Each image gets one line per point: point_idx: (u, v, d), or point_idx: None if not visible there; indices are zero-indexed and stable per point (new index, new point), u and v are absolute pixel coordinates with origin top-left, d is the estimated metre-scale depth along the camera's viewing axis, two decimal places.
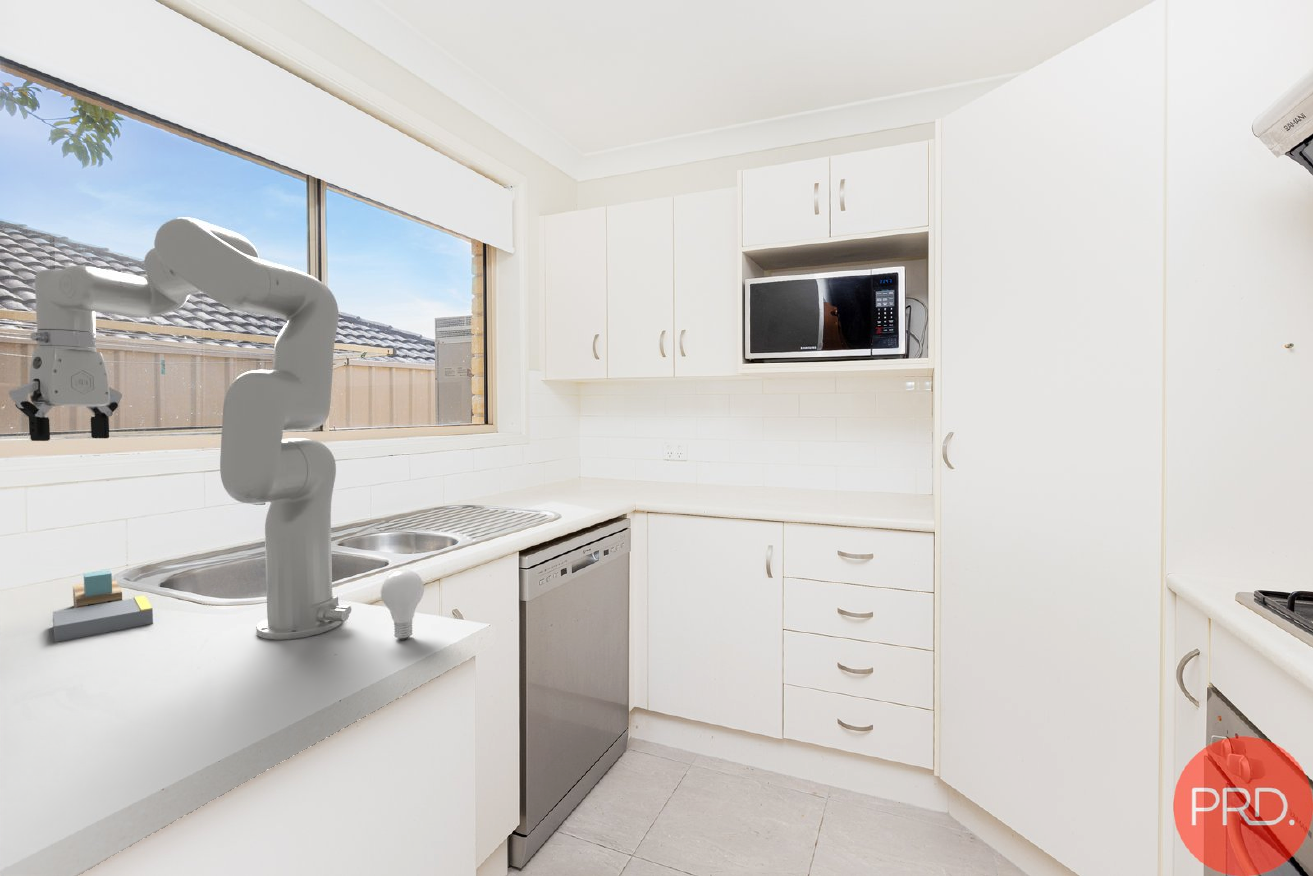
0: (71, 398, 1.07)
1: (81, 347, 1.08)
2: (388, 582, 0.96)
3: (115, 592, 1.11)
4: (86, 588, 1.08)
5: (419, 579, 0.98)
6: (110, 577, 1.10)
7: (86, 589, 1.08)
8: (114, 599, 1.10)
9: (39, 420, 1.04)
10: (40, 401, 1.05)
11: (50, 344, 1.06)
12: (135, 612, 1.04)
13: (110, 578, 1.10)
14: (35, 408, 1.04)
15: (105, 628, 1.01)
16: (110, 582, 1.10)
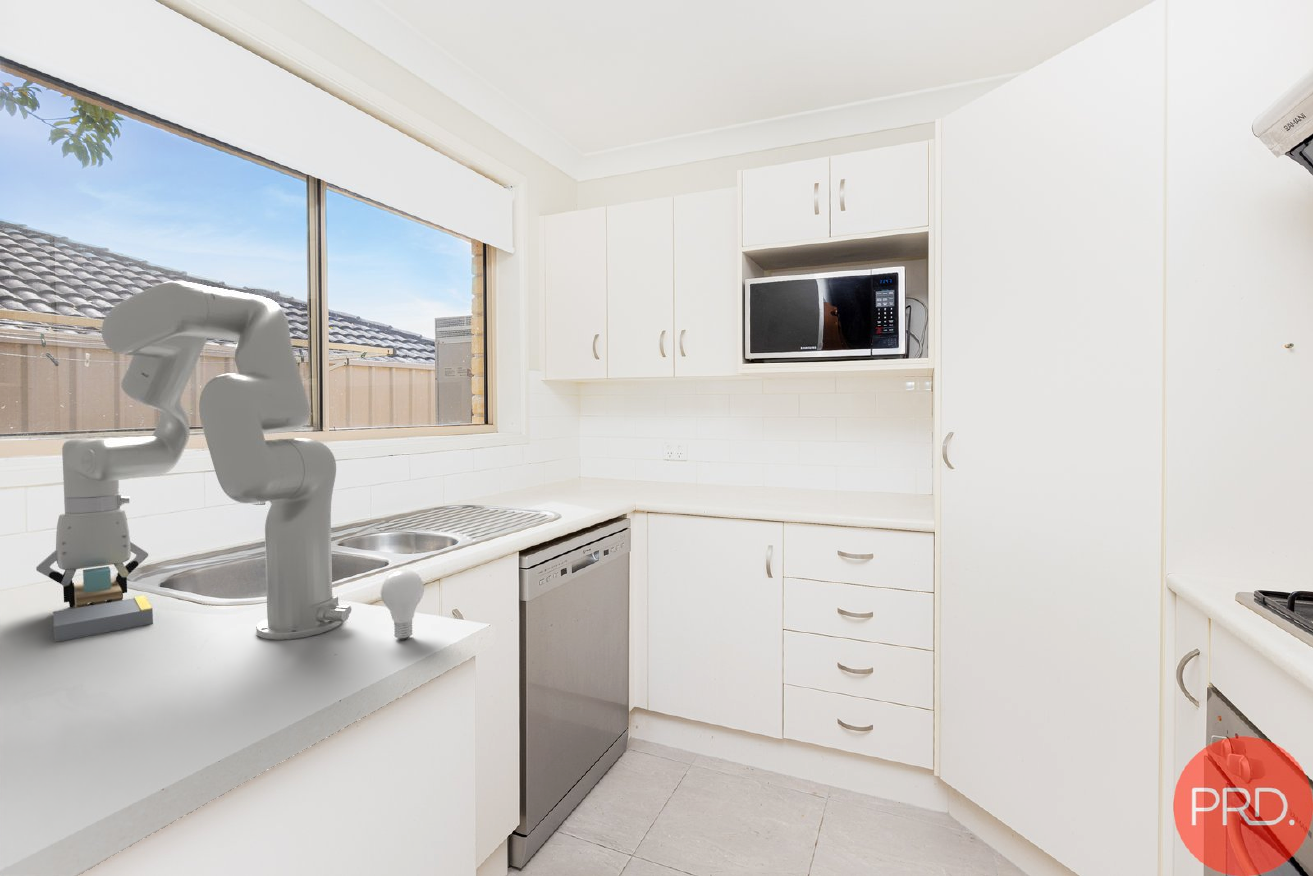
0: None
1: None
2: (388, 582, 0.96)
3: (115, 591, 1.11)
4: (85, 584, 1.10)
5: (419, 579, 0.98)
6: (109, 573, 1.12)
7: (85, 585, 1.10)
8: (114, 598, 1.10)
9: None
10: None
11: None
12: (135, 612, 1.04)
13: (109, 574, 1.12)
14: None
15: (105, 628, 1.01)
16: (109, 578, 1.12)
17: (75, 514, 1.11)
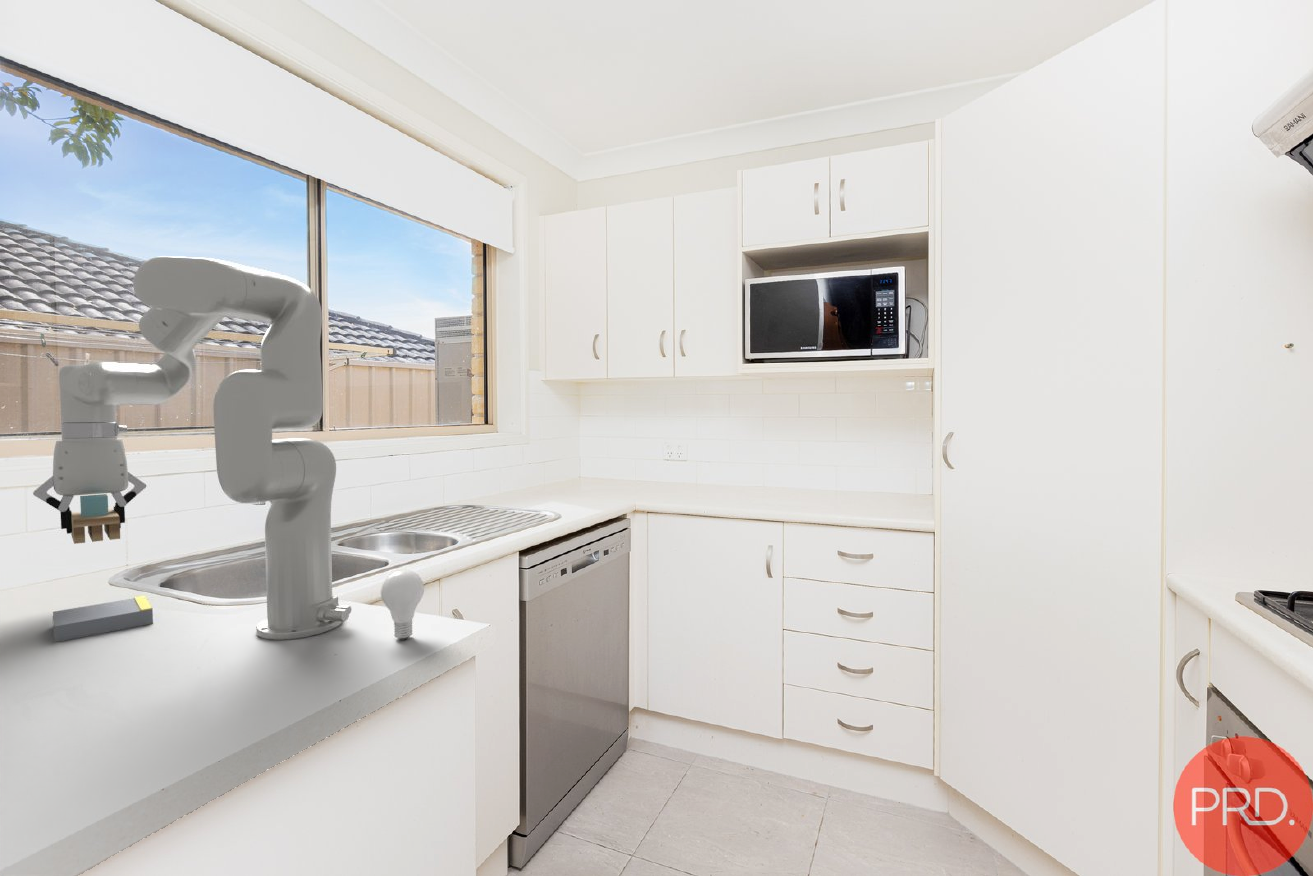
0: None
1: None
2: (388, 582, 0.96)
3: (112, 516, 1.10)
4: (82, 509, 1.09)
5: (419, 579, 0.98)
6: (106, 499, 1.11)
7: (82, 510, 1.09)
8: (111, 523, 1.09)
9: None
10: None
11: None
12: (135, 612, 1.04)
13: (106, 500, 1.11)
14: None
15: (105, 628, 1.01)
16: (106, 504, 1.11)
17: (72, 439, 1.10)
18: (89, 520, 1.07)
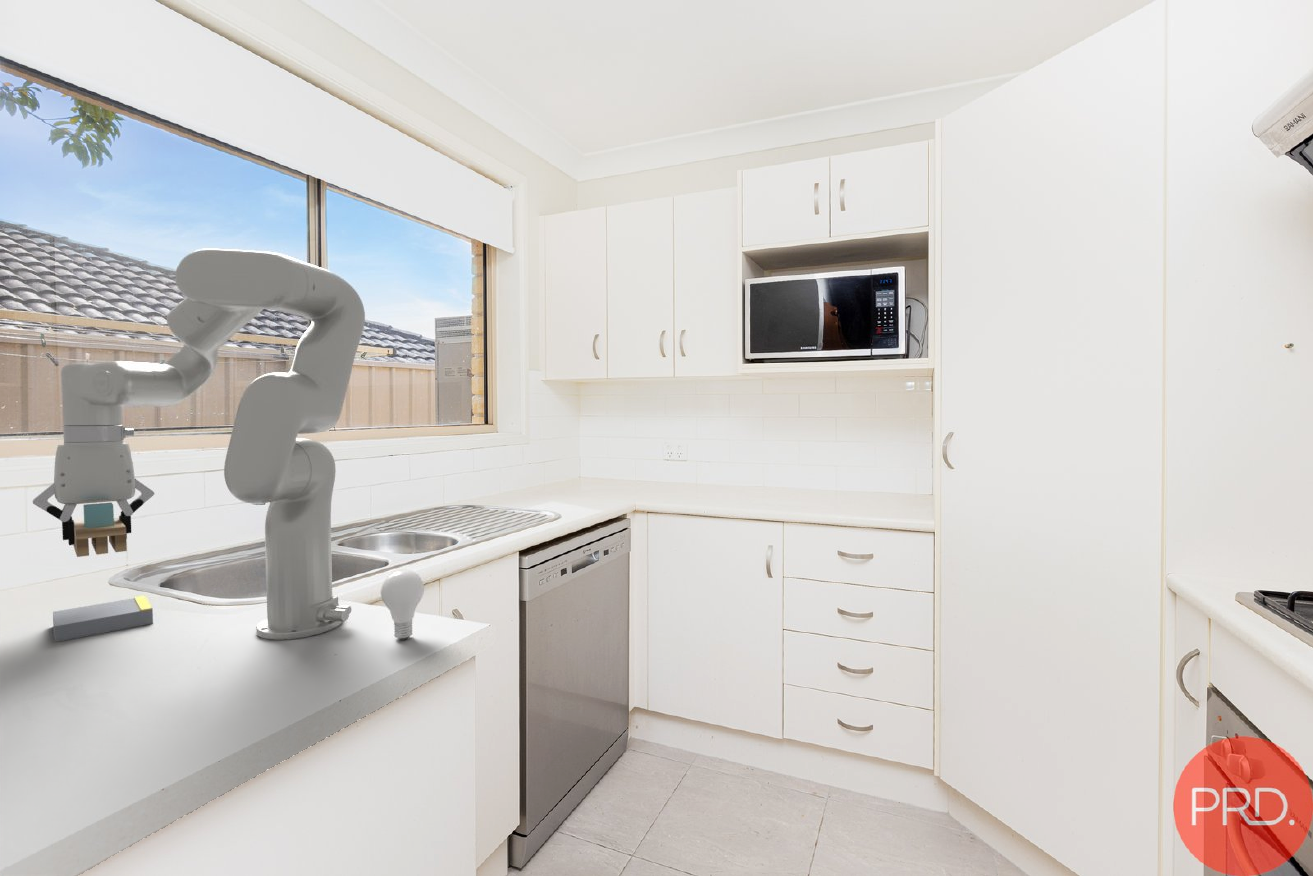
0: None
1: None
2: (388, 582, 0.96)
3: (118, 527, 1.02)
4: (86, 519, 1.01)
5: (419, 579, 0.98)
6: (112, 508, 1.03)
7: (86, 520, 1.01)
8: (117, 534, 1.01)
9: None
10: None
11: None
12: (135, 612, 1.04)
13: (112, 509, 1.03)
14: None
15: (105, 628, 1.01)
16: (112, 514, 1.03)
17: (75, 443, 1.02)
18: (93, 531, 0.99)
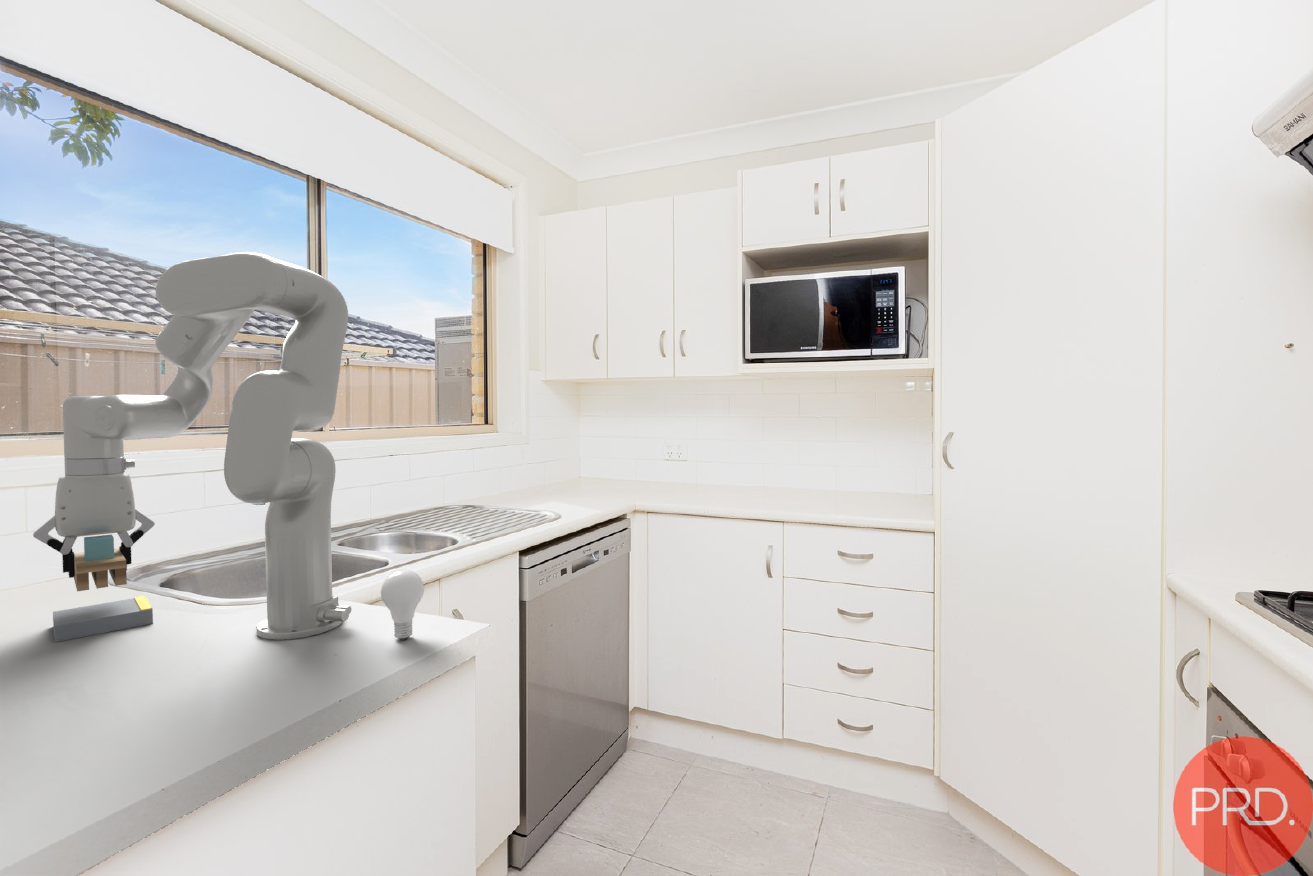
0: None
1: None
2: (388, 582, 0.96)
3: (119, 560, 1.02)
4: (86, 552, 1.01)
5: (419, 579, 0.98)
6: (112, 541, 1.03)
7: (86, 553, 1.01)
8: (117, 568, 1.02)
9: None
10: None
11: None
12: (135, 612, 1.04)
13: (112, 542, 1.03)
14: None
15: (105, 628, 1.01)
16: (112, 547, 1.03)
17: (76, 476, 1.02)
18: (93, 565, 0.99)
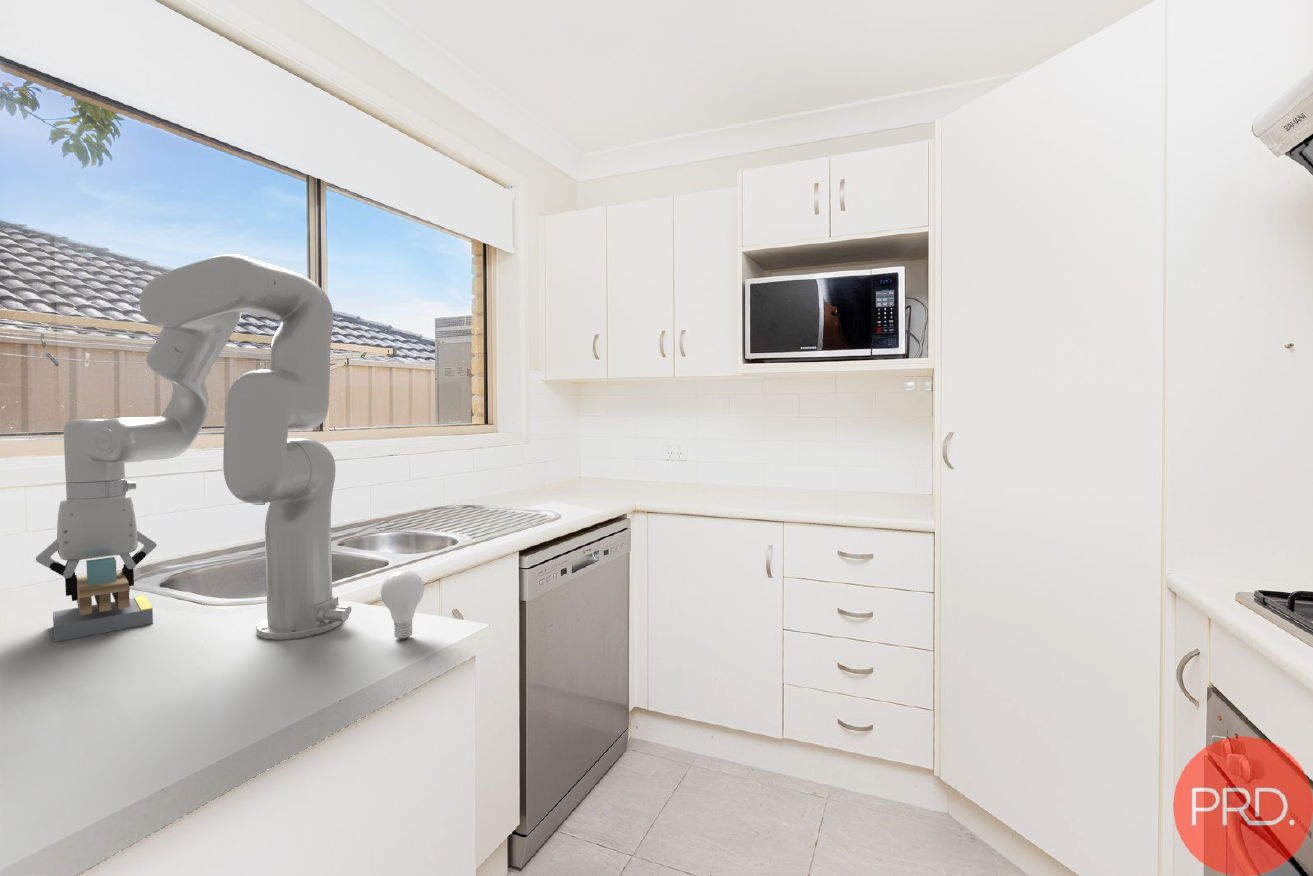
0: None
1: None
2: (388, 582, 0.96)
3: (121, 583, 1.02)
4: (89, 576, 1.01)
5: (419, 579, 0.98)
6: (114, 564, 1.03)
7: (89, 577, 1.01)
8: (120, 590, 1.02)
9: None
10: None
11: None
12: (135, 612, 1.04)
13: (114, 565, 1.03)
14: None
15: (105, 628, 1.01)
16: (114, 569, 1.03)
17: (78, 500, 1.02)
18: (96, 589, 1.00)
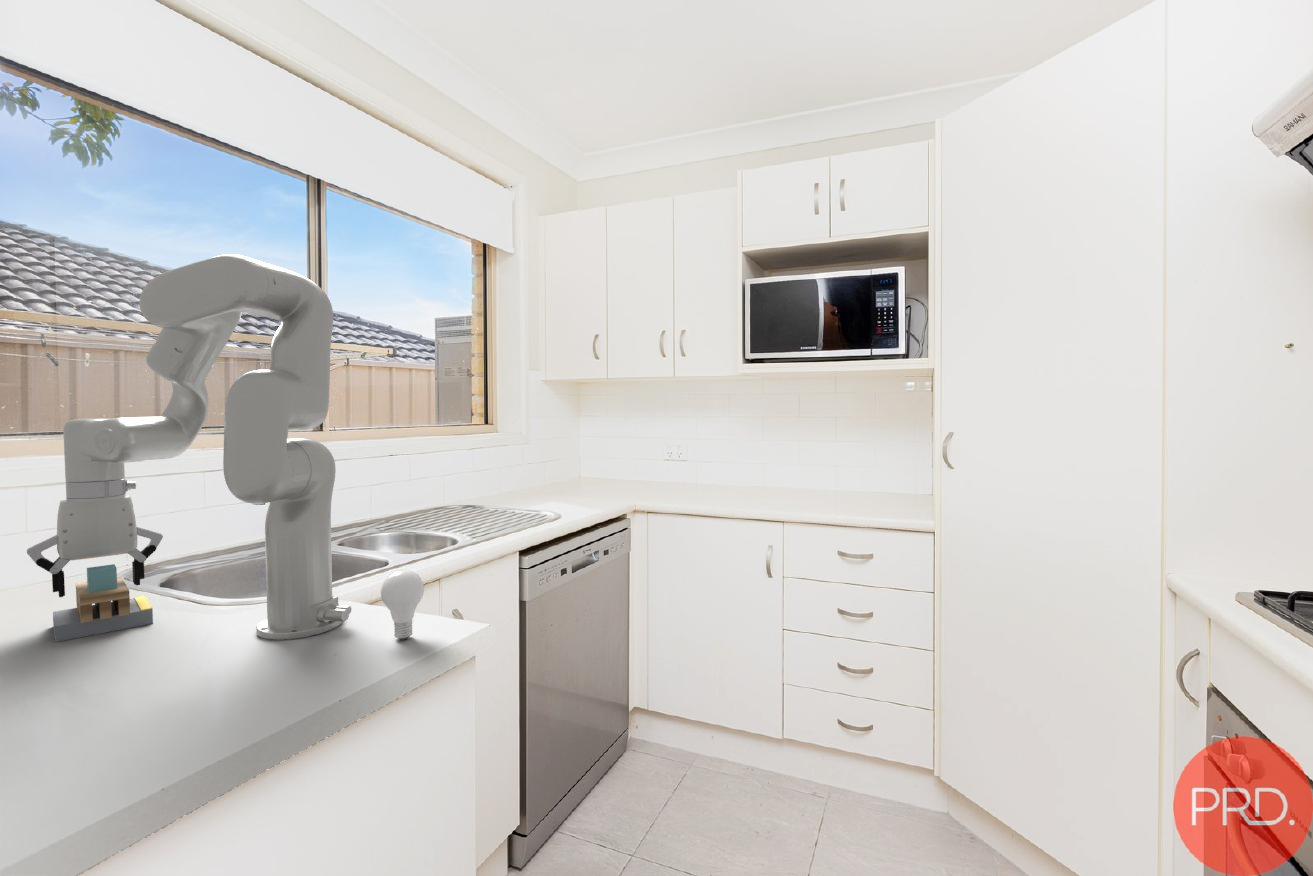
0: None
1: None
2: (388, 582, 0.96)
3: (122, 590, 1.02)
4: (89, 583, 1.01)
5: (419, 579, 0.98)
6: (115, 572, 1.03)
7: (89, 584, 1.01)
8: (121, 598, 1.02)
9: None
10: None
11: None
12: (135, 612, 1.04)
13: (115, 573, 1.03)
14: None
15: (105, 628, 1.01)
16: (115, 577, 1.04)
17: (77, 500, 1.02)
18: (97, 597, 1.00)
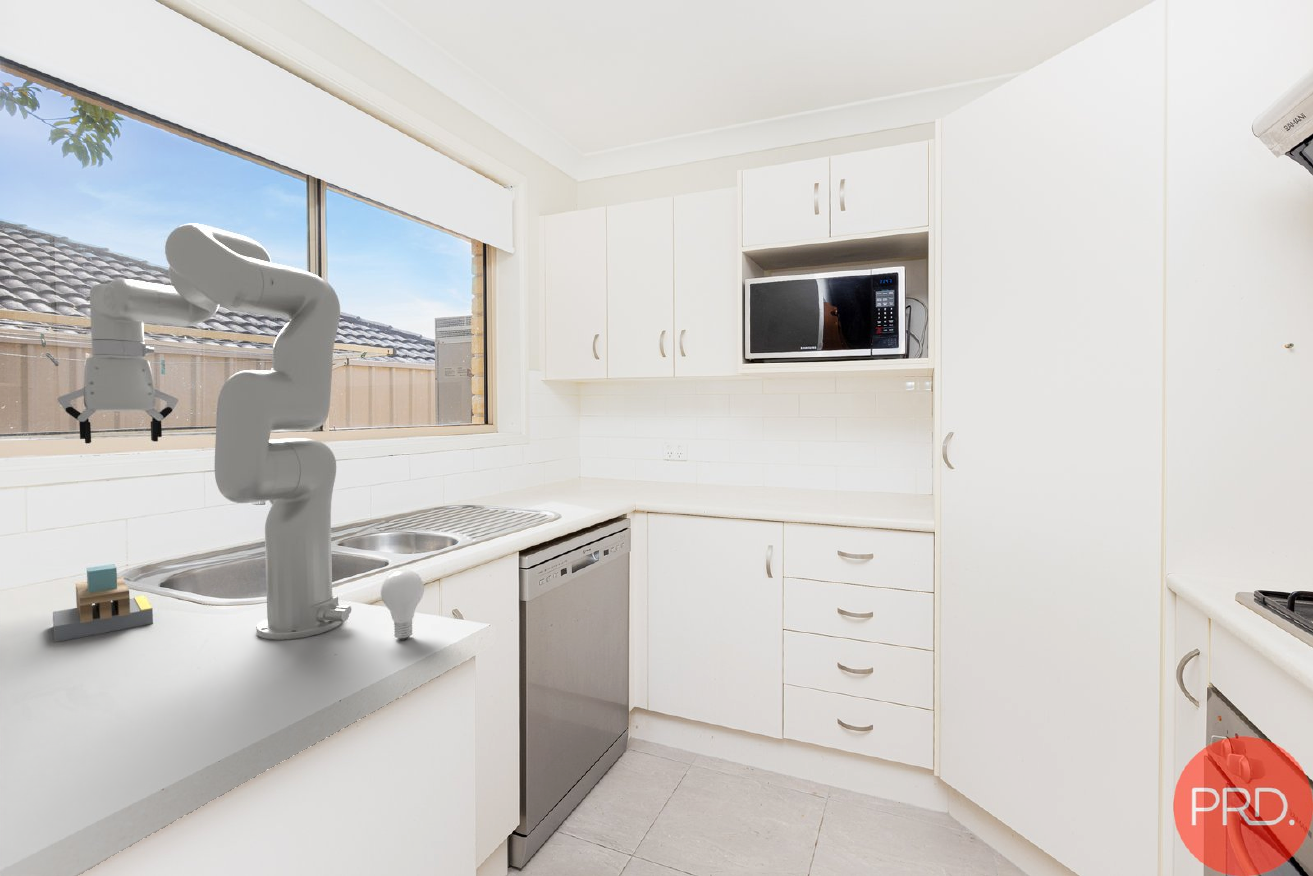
0: None
1: None
2: (388, 582, 0.96)
3: (122, 590, 1.02)
4: (89, 583, 1.01)
5: (419, 579, 0.98)
6: (115, 572, 1.03)
7: (89, 584, 1.01)
8: (121, 598, 1.02)
9: None
10: None
11: None
12: (135, 612, 1.04)
13: (115, 573, 1.03)
14: (160, 413, 1.22)
15: (105, 628, 1.01)
16: (115, 577, 1.04)
17: (102, 355, 1.13)
18: (97, 597, 1.00)
